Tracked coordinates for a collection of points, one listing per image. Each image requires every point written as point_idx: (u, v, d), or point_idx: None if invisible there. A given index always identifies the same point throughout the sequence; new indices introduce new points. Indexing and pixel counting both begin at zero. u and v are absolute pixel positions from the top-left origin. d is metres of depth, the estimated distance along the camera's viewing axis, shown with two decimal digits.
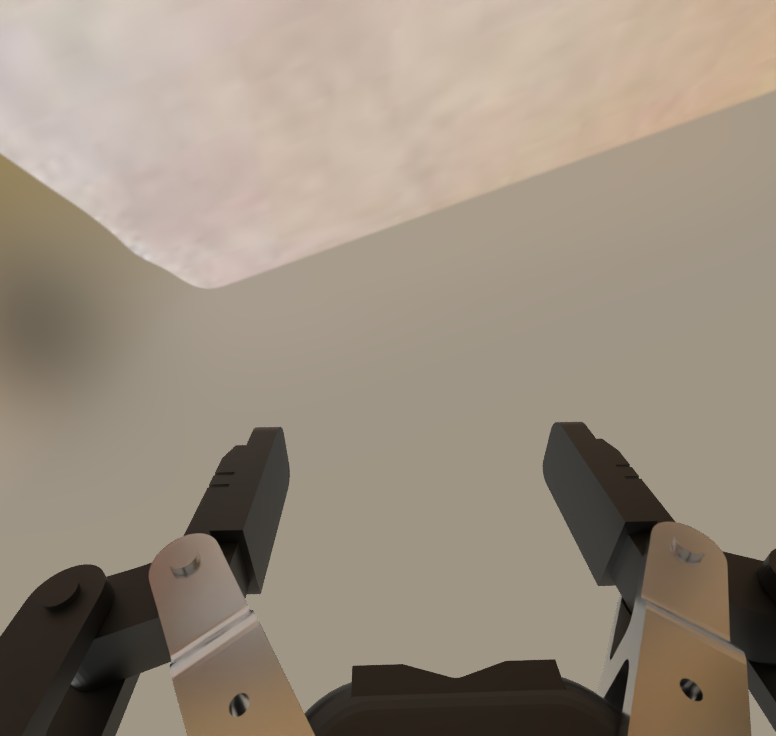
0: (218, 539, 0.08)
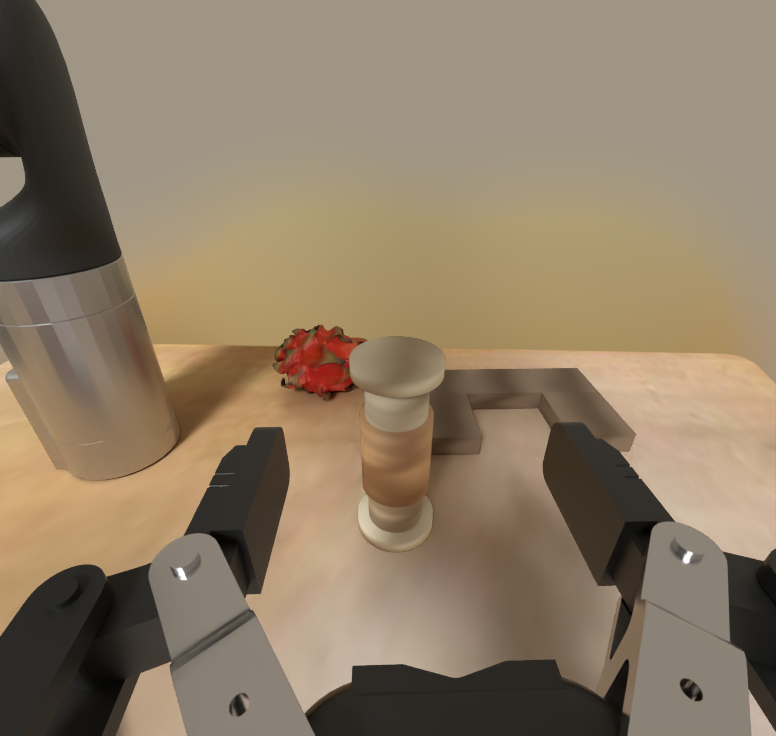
0: (218, 539, 0.08)
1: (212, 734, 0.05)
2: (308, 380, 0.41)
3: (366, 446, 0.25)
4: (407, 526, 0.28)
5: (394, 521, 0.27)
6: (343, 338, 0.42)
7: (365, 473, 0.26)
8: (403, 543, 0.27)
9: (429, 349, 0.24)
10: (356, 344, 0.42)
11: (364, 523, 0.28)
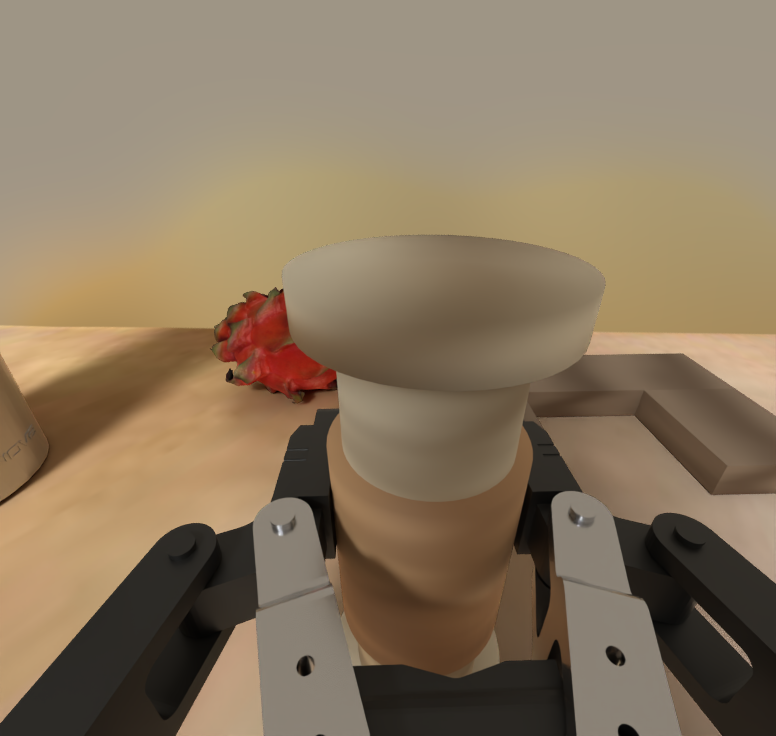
0: None
1: (279, 683, 0.05)
2: (266, 371, 0.25)
3: (345, 531, 0.09)
4: None
5: None
6: None
7: (346, 588, 0.10)
8: None
9: (528, 250, 0.08)
10: None
11: None
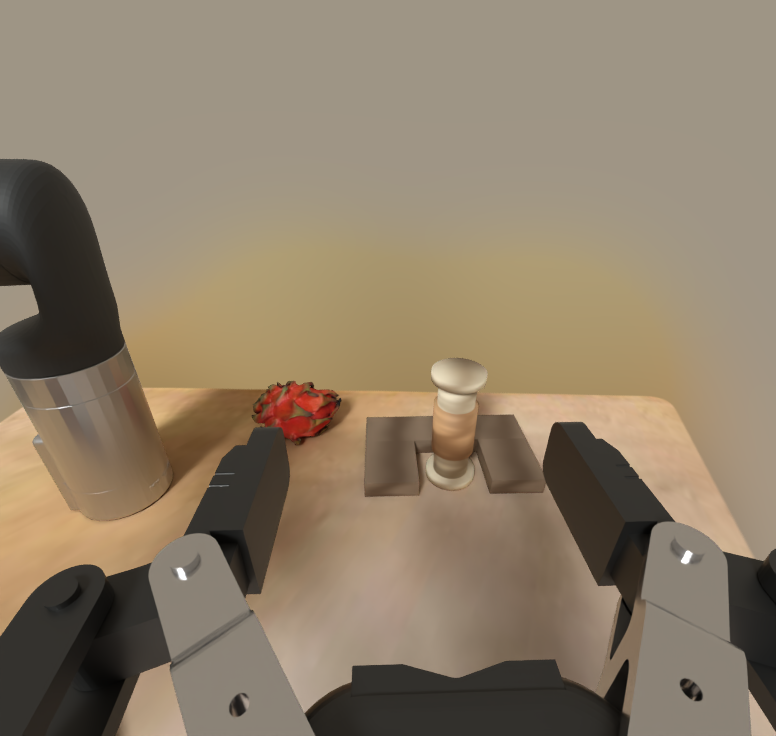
0: (218, 539, 0.08)
1: (212, 734, 0.05)
2: None
3: (438, 423, 0.42)
4: (459, 474, 0.45)
5: (452, 471, 0.44)
6: (311, 393, 0.50)
7: (436, 440, 0.43)
8: (457, 484, 0.44)
9: (476, 365, 0.41)
10: (322, 398, 0.50)
11: (431, 474, 0.45)
